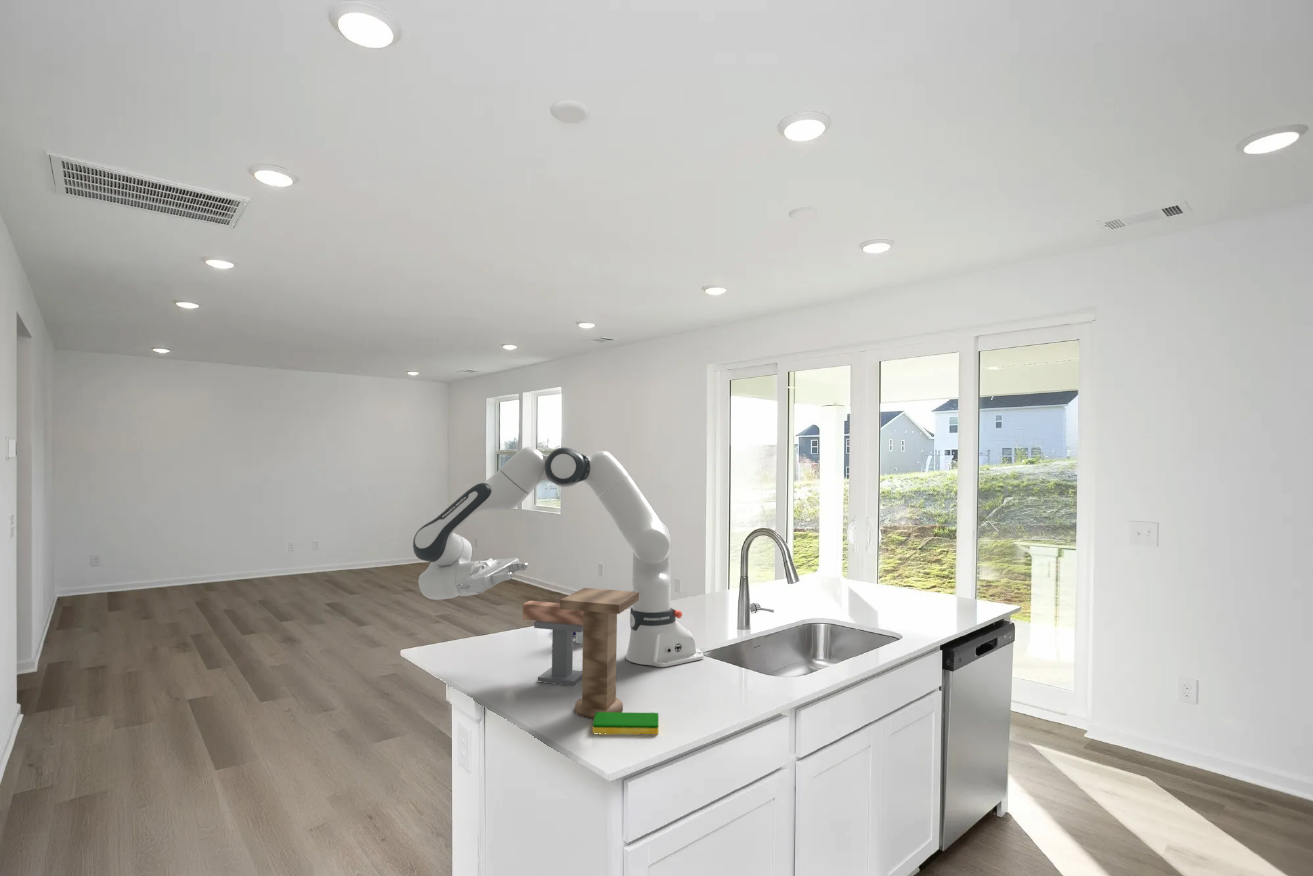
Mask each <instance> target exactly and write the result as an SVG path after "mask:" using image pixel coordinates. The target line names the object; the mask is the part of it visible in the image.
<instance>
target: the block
mask: <svg viewBox="0 0 1313 876" xmlns="http://www.w3.org/2000/svg"><path fill="white" fill-rule="evenodd" d="M522 620H525V621H526V620H527V621H534V622H535V621H545V622H556V623H567V624H577V625H583V611H579V610H567V609H560V602H549V601H548V602H546V601H537V600H529V601H526V602H524V603H522Z"/></svg>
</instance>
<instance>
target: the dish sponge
mask: <svg viewBox="0 0 1313 876" xmlns="http://www.w3.org/2000/svg"><path fill="white" fill-rule="evenodd" d="M593 733H598V734H597V735H612V734H658V735H659V713H658V712H624V711H622V712H596V713H595V717H594V719H593V722H592V734H593ZM599 733H601V734H599ZM605 733H606V734H605Z"/></svg>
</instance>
